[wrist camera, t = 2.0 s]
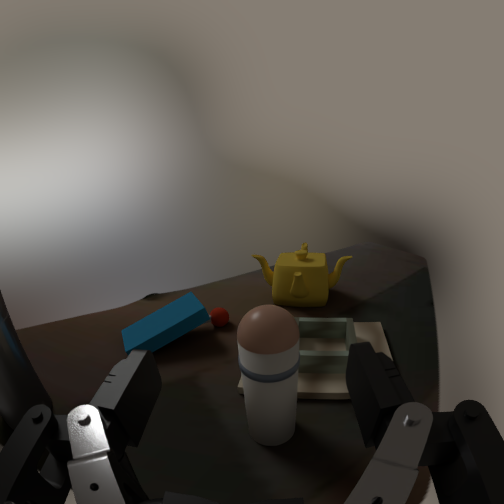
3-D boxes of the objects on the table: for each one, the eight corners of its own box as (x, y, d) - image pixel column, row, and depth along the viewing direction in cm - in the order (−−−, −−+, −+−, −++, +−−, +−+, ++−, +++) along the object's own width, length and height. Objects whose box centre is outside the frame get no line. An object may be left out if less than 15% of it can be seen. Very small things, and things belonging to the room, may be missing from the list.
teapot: (350, 297, 53) (353, 251, 51) (298, 322, 47) (298, 270, 44) (303, 277, 65) (303, 237, 63) (253, 294, 59) (250, 250, 56)
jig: (238, 393, 31) (235, 369, 30) (262, 326, 46) (260, 305, 45) (398, 396, 27) (407, 371, 26) (379, 327, 42) (382, 306, 40)
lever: (148, 380, 39) (239, 327, 46) (125, 351, 37) (224, 295, 43) (141, 358, 45) (222, 311, 52) (121, 330, 42) (208, 281, 49)
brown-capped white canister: (242, 443, 24) (224, 324, 19) (253, 409, 28) (242, 292, 24) (292, 448, 22) (299, 328, 18) (298, 413, 27) (303, 294, 23)
